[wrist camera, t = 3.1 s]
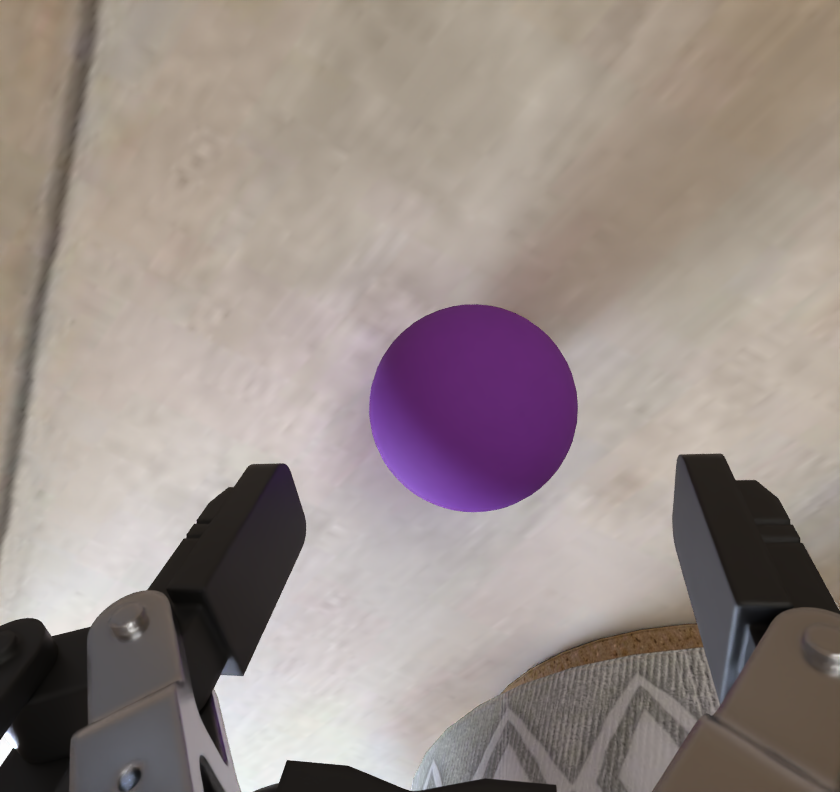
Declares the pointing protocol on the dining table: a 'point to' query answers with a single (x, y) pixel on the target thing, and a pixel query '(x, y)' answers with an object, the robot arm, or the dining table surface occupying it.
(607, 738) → the planter
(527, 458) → the ball
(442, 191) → the dining table surface
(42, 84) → the dining table surface
